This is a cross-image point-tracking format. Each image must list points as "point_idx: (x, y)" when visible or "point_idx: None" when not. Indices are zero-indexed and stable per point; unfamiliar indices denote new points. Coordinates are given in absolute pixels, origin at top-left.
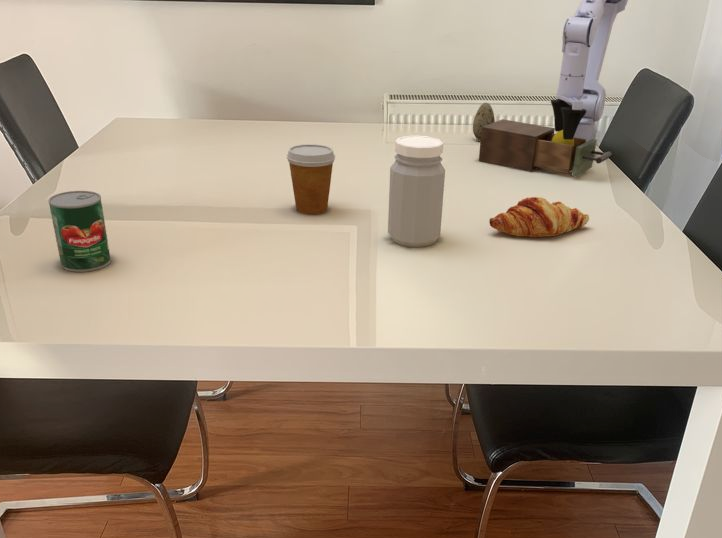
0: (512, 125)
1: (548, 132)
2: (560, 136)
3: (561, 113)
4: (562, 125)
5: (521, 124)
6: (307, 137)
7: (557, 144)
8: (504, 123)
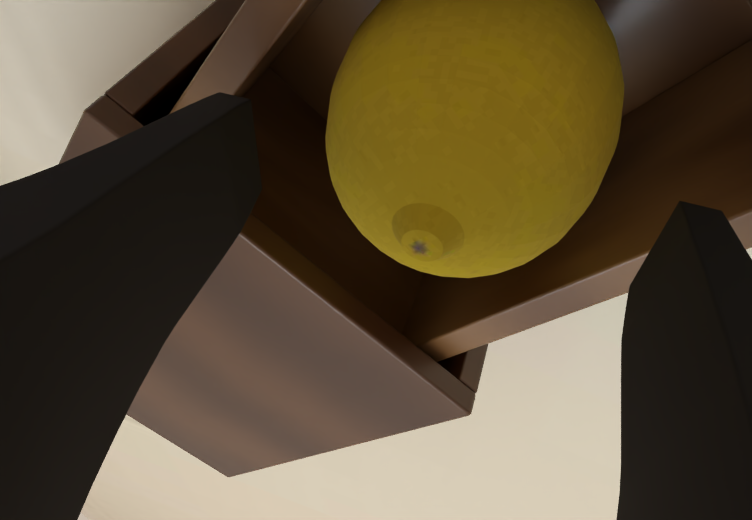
0: None
1: (248, 222)
2: (517, 265)
3: (114, 330)
4: (210, 174)
5: None
6: (152, 497)
7: (627, 287)
8: None
